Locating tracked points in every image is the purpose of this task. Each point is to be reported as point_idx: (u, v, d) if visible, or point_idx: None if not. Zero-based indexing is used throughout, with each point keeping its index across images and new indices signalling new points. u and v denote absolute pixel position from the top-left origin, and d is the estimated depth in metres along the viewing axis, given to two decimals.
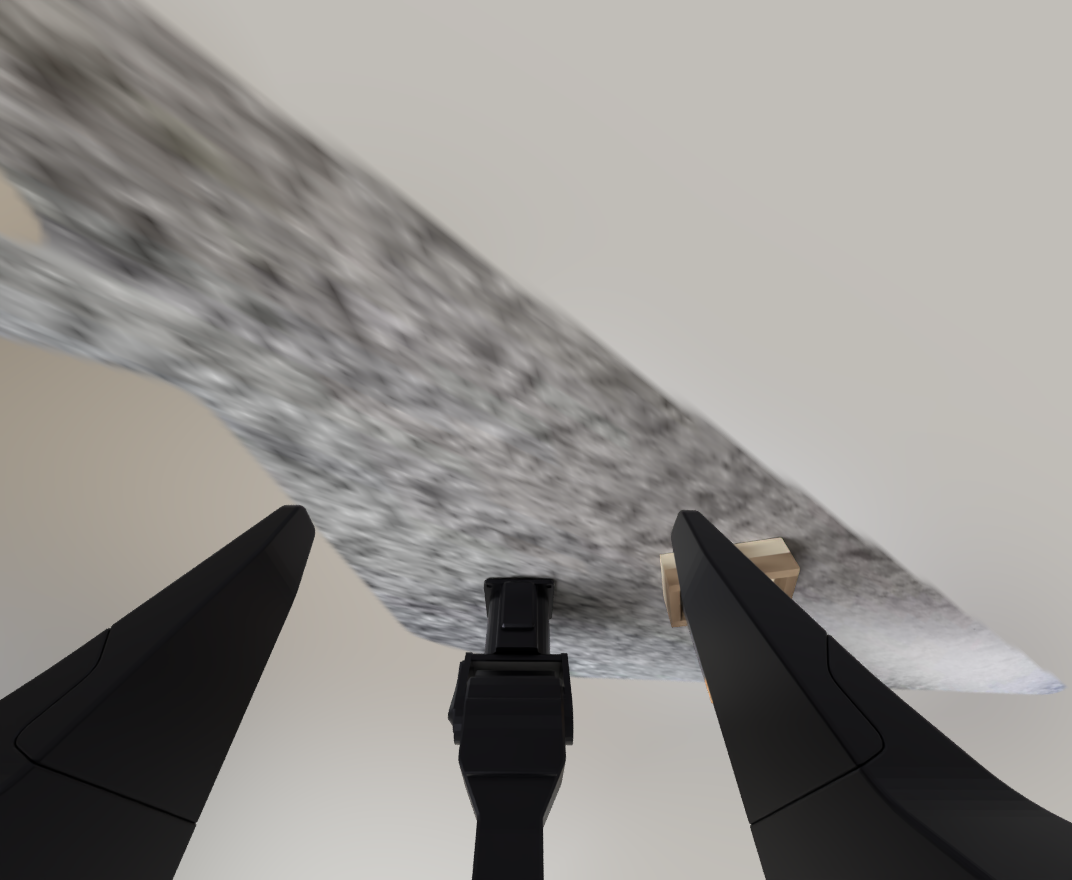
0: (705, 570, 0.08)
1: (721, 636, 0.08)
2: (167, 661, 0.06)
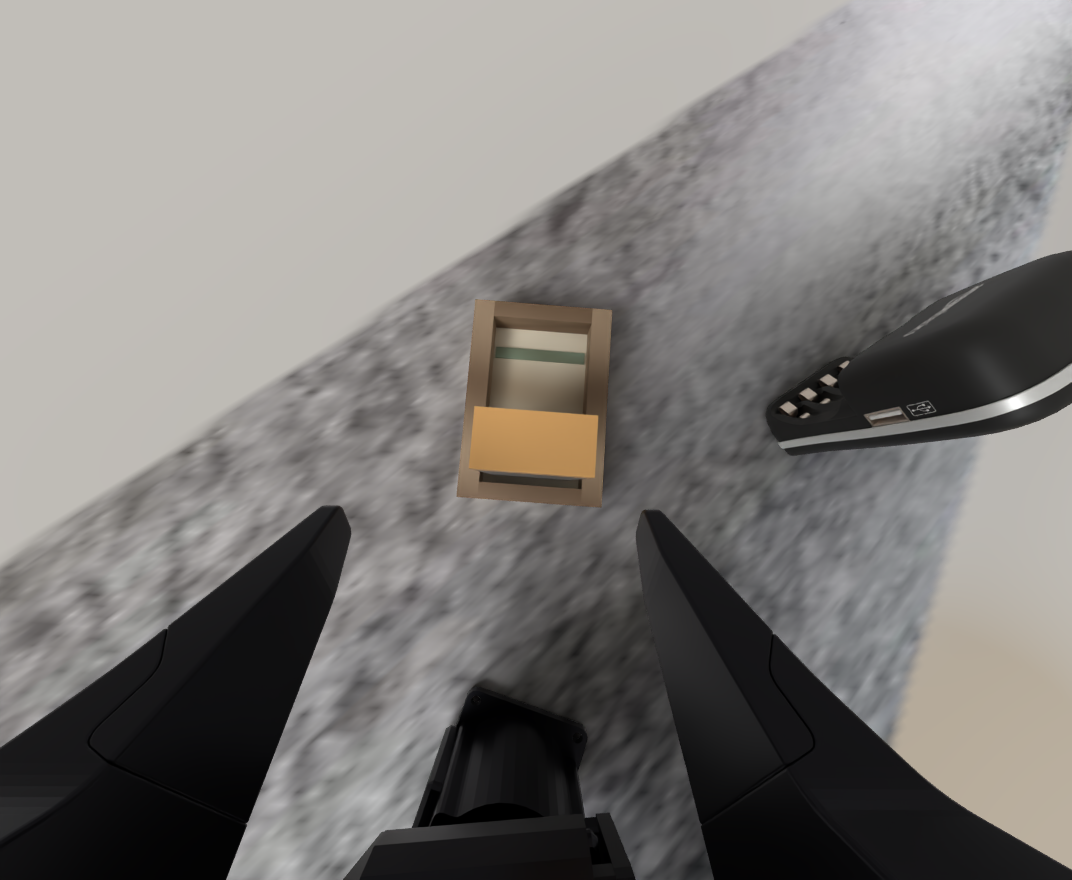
0: (662, 570, 0.08)
1: (675, 636, 0.07)
2: (225, 661, 0.06)
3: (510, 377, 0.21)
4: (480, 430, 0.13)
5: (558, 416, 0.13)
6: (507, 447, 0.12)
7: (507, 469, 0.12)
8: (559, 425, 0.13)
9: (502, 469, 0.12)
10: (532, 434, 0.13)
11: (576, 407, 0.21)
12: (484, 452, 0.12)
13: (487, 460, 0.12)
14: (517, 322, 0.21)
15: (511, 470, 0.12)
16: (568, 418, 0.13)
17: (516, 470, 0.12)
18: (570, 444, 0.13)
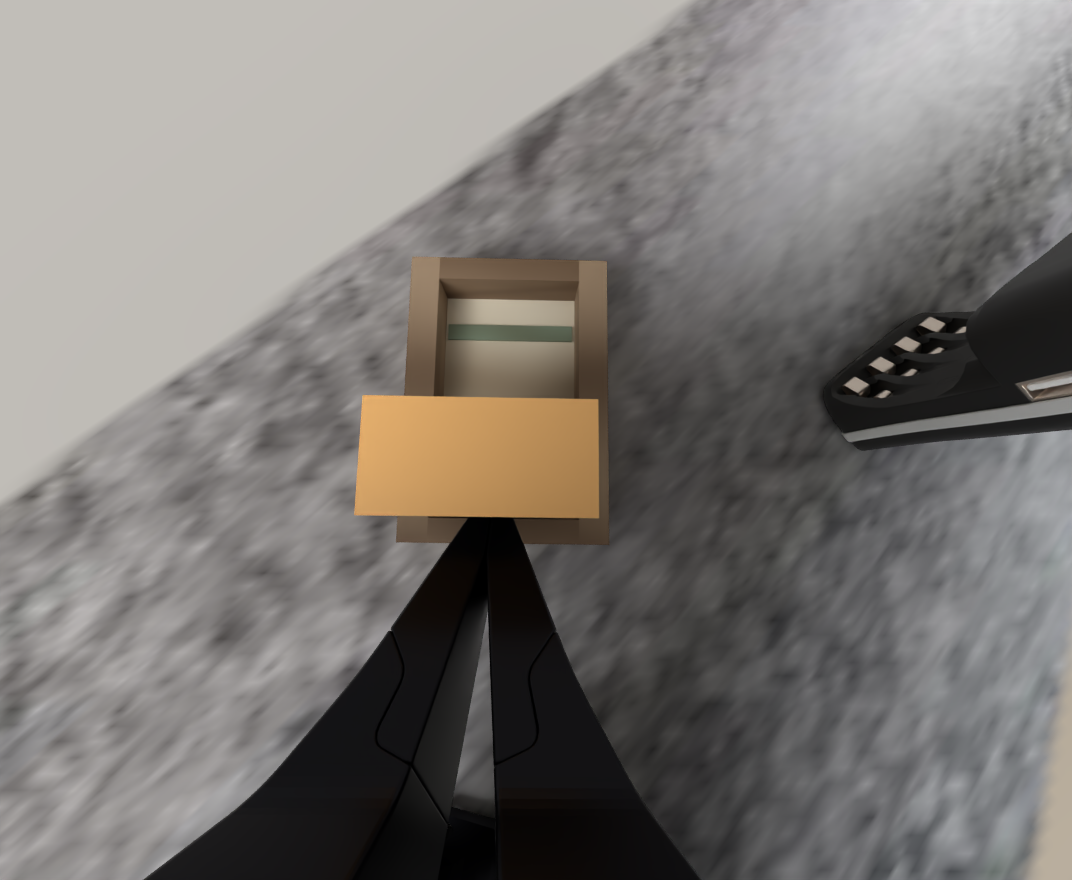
0: None
1: None
2: (452, 663, 0.06)
3: (470, 365, 0.15)
4: (375, 440, 0.07)
5: (523, 406, 0.07)
6: (428, 470, 0.07)
7: (429, 512, 0.06)
8: (526, 422, 0.07)
9: (420, 513, 0.06)
10: (474, 441, 0.07)
11: None
12: (384, 482, 0.06)
13: (390, 497, 0.06)
14: (474, 287, 0.15)
15: (437, 514, 0.06)
16: (542, 407, 0.07)
17: (447, 513, 0.06)
18: (548, 456, 0.07)
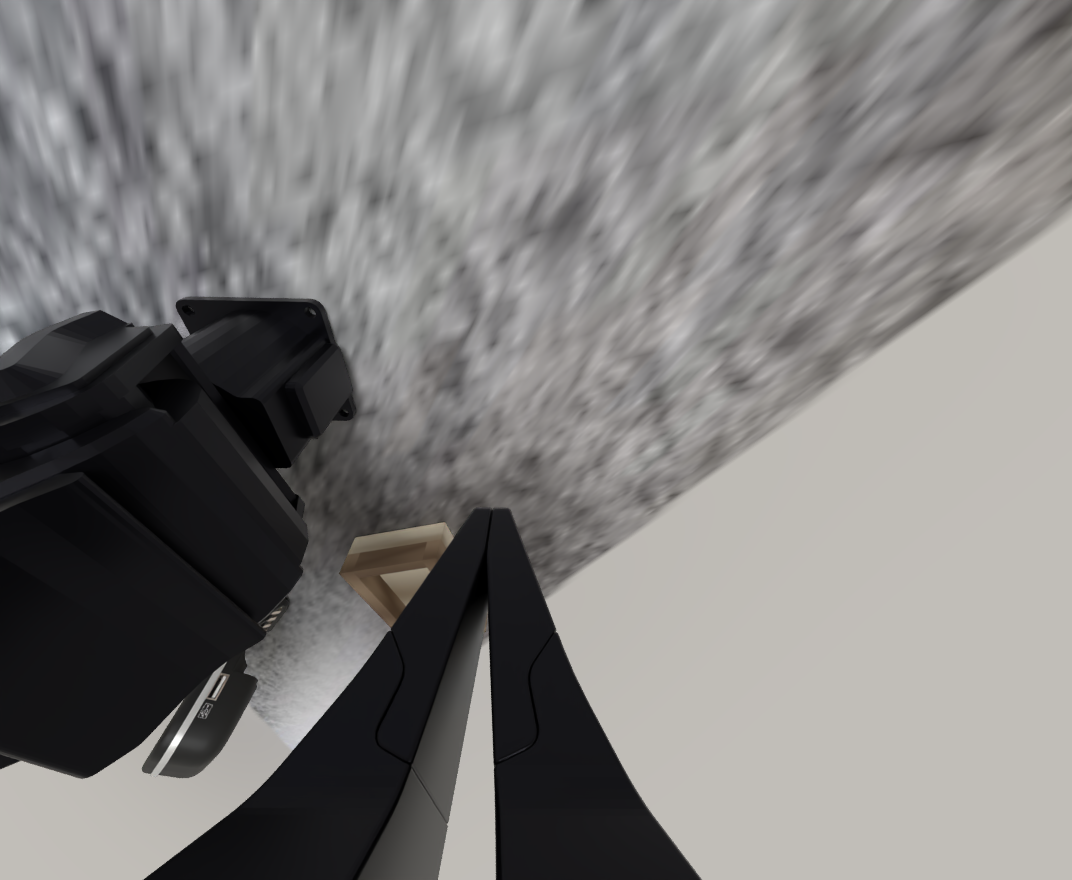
0: None
1: None
2: (452, 663, 0.06)
3: None
4: None
5: None
6: None
7: None
8: None
9: None
10: None
11: (397, 591, 0.30)
12: None
13: None
14: None
15: None
16: None
17: None
18: None
